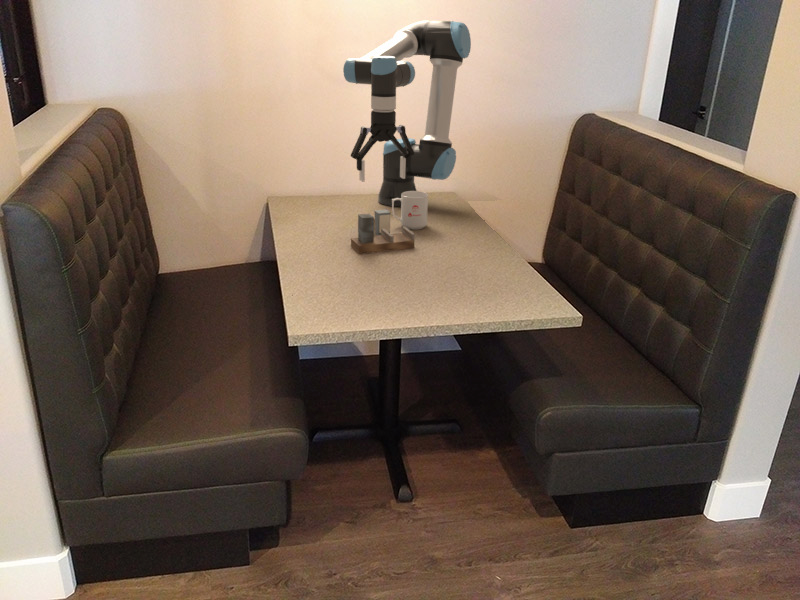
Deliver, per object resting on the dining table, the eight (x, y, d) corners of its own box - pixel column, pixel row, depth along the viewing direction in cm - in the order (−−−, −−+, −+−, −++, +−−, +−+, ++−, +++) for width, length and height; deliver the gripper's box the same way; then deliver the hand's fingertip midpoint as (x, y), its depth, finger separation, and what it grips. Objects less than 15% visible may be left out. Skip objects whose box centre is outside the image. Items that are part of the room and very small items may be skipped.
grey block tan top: (374, 234, 231) (374, 210, 228) (386, 232, 232) (386, 209, 229) (379, 237, 228) (379, 214, 224) (390, 236, 229) (390, 212, 226)
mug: (424, 222, 244) (425, 190, 240) (428, 230, 236) (429, 197, 232) (390, 222, 243) (390, 191, 238) (393, 230, 235) (393, 198, 230)
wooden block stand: (404, 240, 226) (405, 208, 222) (414, 247, 219) (415, 215, 215) (350, 245, 220) (350, 213, 216) (359, 254, 213) (359, 220, 209)
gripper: (416, 107, 222) (414, 173, 230) (340, 109, 213) (340, 179, 222) (426, 110, 216) (423, 179, 224) (347, 113, 207) (348, 184, 215)
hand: (382, 179), depth 223 cm, fingers open, 13 cm apart
